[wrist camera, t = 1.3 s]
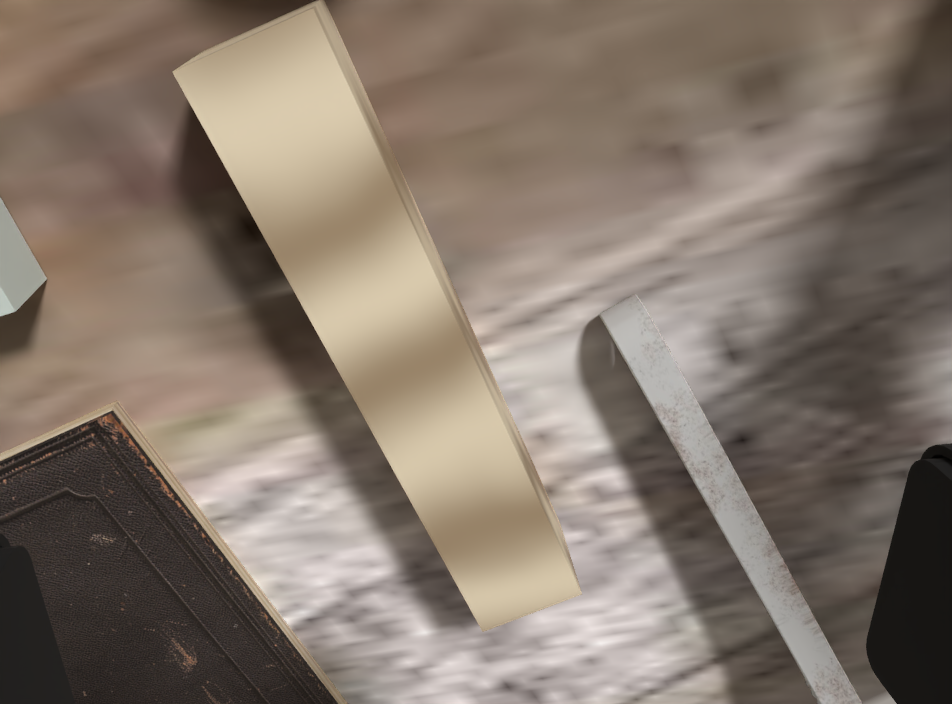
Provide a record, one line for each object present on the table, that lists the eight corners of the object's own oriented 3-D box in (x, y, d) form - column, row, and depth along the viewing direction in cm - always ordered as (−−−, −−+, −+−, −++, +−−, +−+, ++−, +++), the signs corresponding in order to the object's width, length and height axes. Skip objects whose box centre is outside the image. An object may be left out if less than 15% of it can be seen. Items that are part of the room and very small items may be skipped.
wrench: (616, 266, 36) (864, 718, 46) (580, 288, 36) (833, 732, 46) (665, 326, 29) (948, 851, 38) (618, 353, 29) (911, 867, 39)
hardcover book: (126, 385, 33) (110, 414, 31) (382, 728, 44) (382, 767, 42) (-208, 537, 35) (-245, 575, 33) (116, 835, 45) (104, 878, 43)
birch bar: (558, 518, 39) (582, 594, 34) (470, 552, 39) (482, 631, 34) (323, -4, 28) (313, 8, 23) (204, 50, 28) (172, 71, 24)
